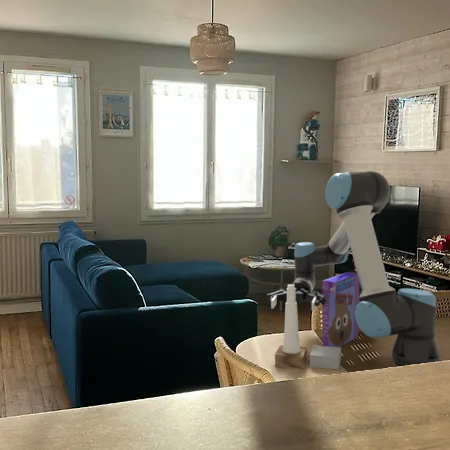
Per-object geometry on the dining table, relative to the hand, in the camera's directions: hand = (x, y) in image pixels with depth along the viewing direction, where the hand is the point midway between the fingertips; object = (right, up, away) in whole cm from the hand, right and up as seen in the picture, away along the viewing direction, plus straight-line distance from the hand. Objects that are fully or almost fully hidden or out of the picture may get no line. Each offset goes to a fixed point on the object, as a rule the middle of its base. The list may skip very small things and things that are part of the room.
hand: (292, 305), depth 187 cm
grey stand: (+10, -18, -4) cm, 21 cm away
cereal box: (+19, -15, +16) cm, 29 cm away
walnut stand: (-1, -18, -2) cm, 18 cm away
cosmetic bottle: (-1, -15, -3) cm, 15 cm away
